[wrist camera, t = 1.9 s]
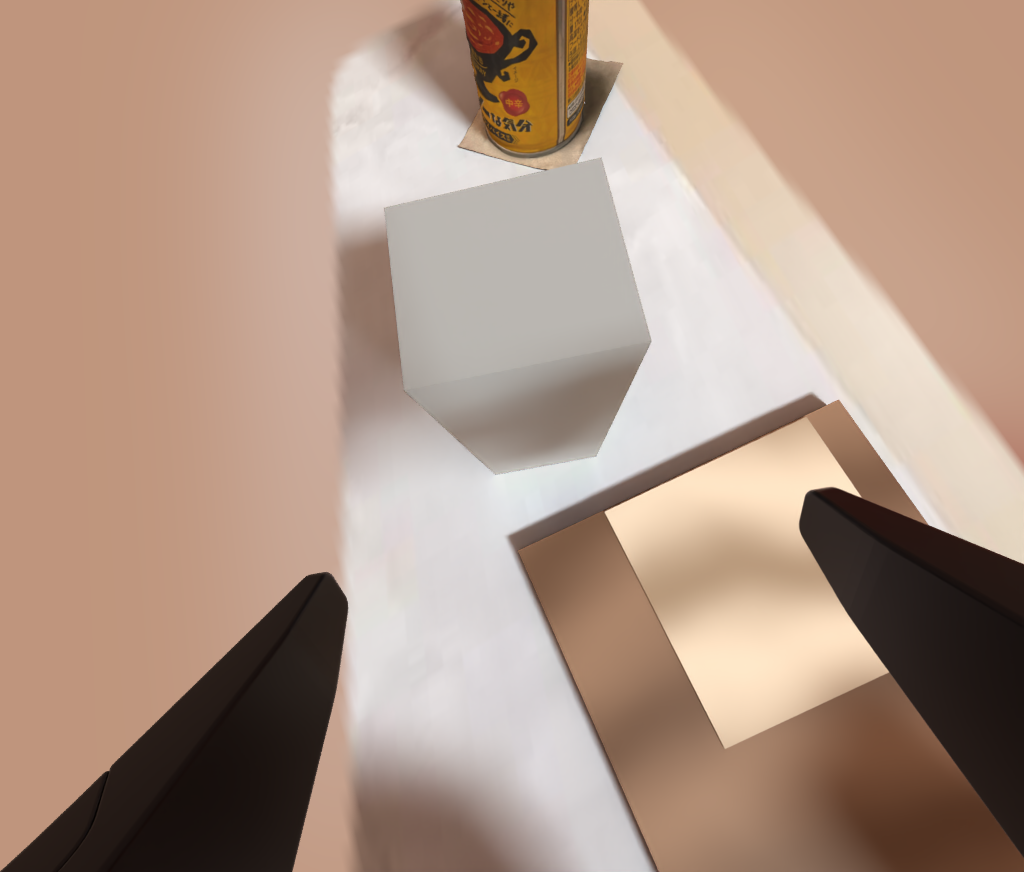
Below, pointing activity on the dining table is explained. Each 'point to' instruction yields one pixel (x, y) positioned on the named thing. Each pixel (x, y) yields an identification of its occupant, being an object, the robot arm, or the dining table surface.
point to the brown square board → (754, 674)
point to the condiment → (534, 80)
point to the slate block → (518, 314)
